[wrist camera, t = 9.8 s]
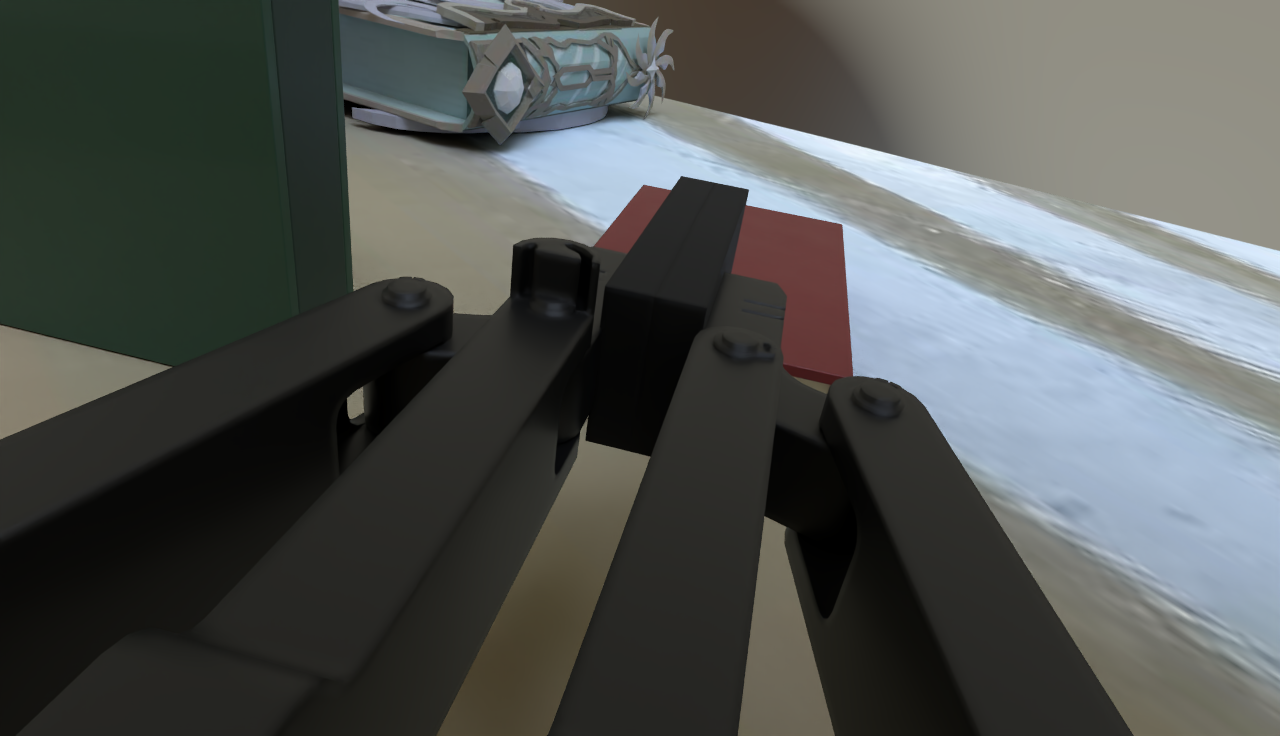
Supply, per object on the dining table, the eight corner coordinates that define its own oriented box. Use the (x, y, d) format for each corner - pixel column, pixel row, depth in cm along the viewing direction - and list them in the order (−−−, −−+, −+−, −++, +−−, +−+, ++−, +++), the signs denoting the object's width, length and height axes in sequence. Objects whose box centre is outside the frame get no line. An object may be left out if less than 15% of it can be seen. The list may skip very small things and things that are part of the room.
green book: (299, 397, 24) (230, -315, 15) (-10, 321, 25) (-228, -374, 17) (357, 349, 27) (325, -270, 18) (78, 283, 28) (-70, -324, 20)
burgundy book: (854, 379, 23) (842, 224, 37) (541, 309, 25) (643, 184, 38) (828, 457, 25) (826, 280, 39) (535, 388, 26) (635, 240, 40)
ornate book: (468, 181, 48) (691, 113, 70) (468, 12, 43) (708, -2, 65) (234, 101, 56) (500, 64, 79) (211, -46, 51) (502, -41, 74)
